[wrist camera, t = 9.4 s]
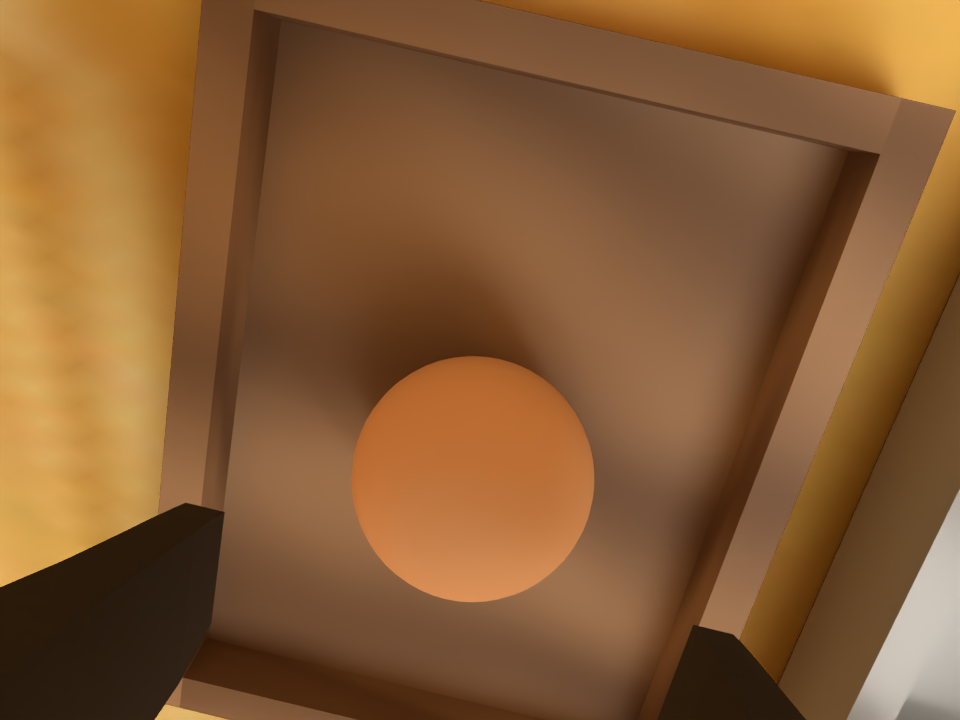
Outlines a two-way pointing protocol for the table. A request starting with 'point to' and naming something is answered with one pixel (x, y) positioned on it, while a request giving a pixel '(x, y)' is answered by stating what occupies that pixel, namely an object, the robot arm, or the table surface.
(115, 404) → the table surface
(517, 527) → the ball
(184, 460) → the tray
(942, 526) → the dish
